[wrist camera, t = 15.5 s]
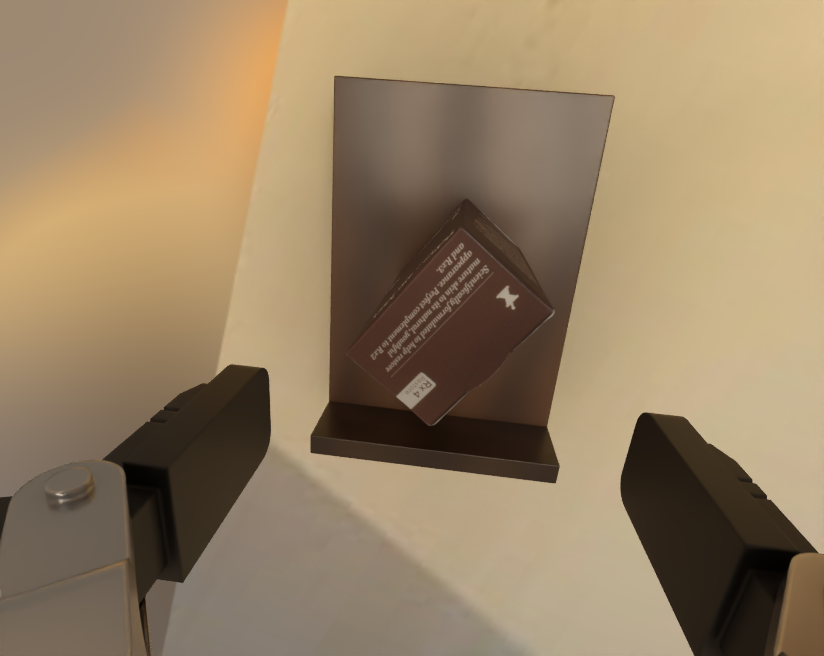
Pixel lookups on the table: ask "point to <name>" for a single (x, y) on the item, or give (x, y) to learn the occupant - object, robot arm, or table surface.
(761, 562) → the robot arm
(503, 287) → the box
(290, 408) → the table surface
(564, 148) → the rack
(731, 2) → the table surface
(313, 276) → the table surface
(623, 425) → the table surface
